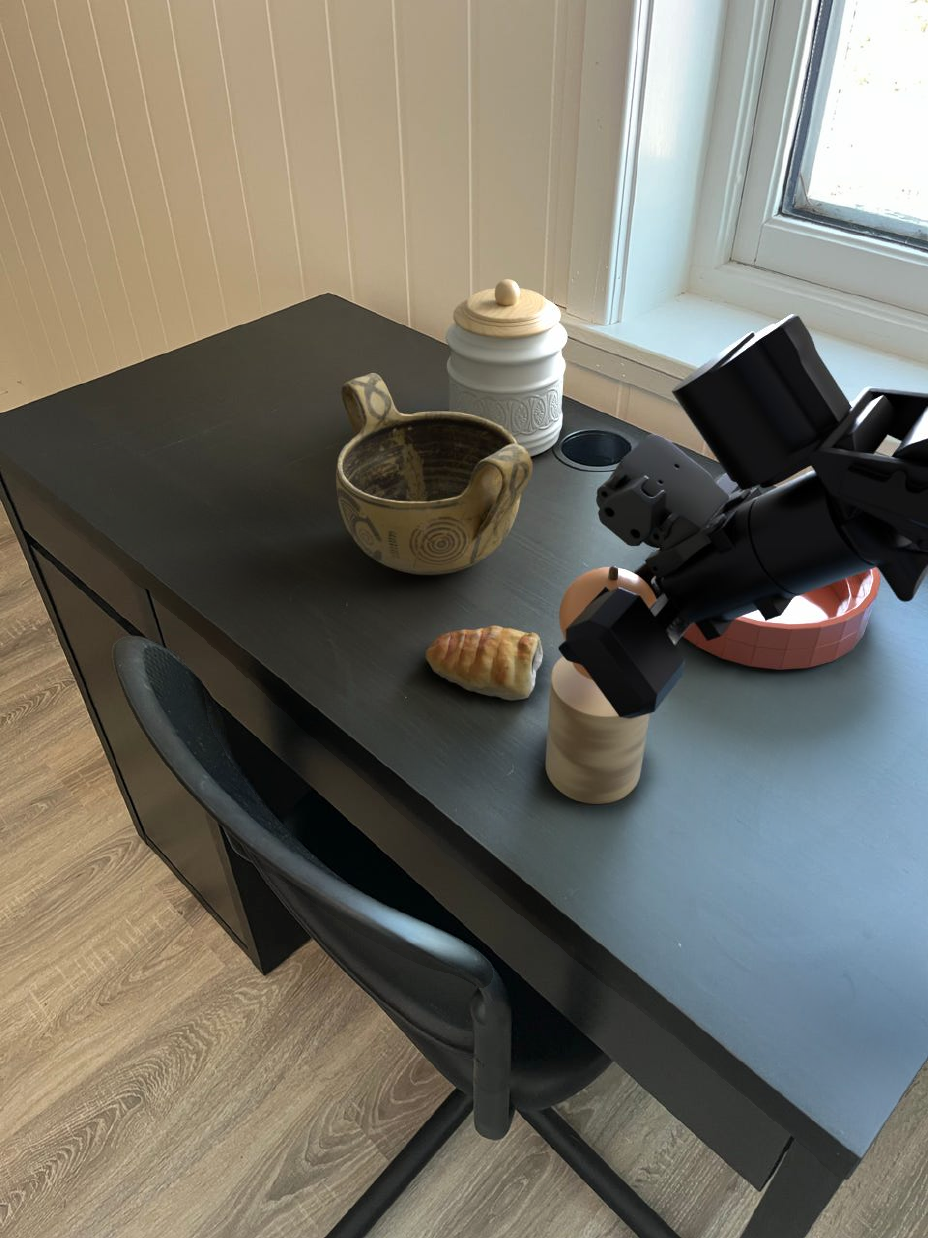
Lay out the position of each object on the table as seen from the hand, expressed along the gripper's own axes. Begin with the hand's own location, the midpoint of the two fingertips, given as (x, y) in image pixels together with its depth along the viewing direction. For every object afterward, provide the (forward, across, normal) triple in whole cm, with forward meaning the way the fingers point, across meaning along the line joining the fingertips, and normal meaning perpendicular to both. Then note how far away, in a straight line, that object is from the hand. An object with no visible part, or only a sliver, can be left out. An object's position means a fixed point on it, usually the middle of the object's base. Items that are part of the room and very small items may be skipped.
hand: (589, 625), depth 62 cm
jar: (+32, -38, -13) cm, 51 cm away
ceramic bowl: (+27, -15, -8) cm, 32 cm away
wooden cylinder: (+8, 0, +10) cm, 13 cm away
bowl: (+6, -25, +12) cm, 28 cm away
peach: (+1, 0, +3) cm, 3 cm away
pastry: (+17, -4, +2) cm, 17 cm away
